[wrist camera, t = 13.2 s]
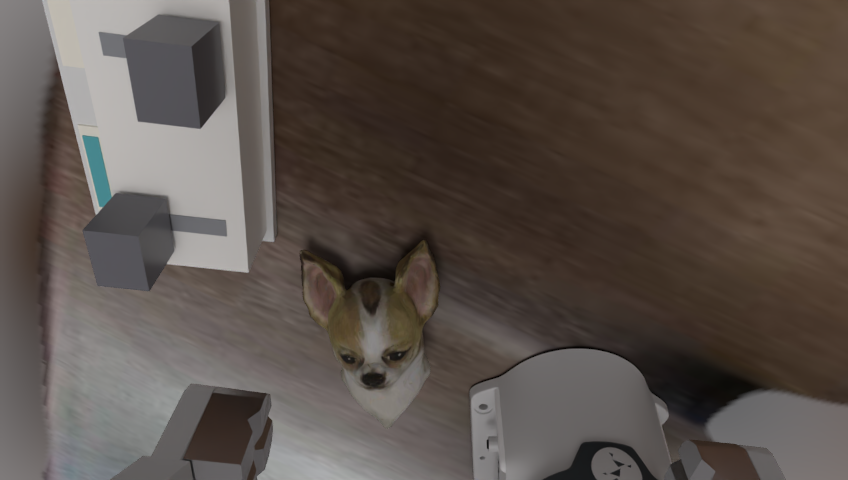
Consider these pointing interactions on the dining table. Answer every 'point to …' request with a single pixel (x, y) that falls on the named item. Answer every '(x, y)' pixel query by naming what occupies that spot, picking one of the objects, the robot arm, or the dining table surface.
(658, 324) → the dining table surface
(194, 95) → the slider middle
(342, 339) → the ceramic sculpture
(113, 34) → the switch unit
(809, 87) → the dining table surface
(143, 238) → the slider
